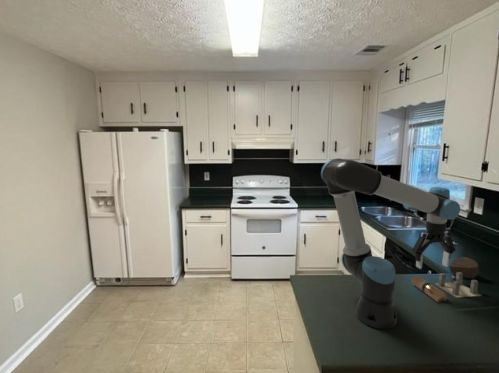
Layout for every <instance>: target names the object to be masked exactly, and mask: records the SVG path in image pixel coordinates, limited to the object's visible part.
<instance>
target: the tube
mask: <svg viewBox="0 0 499 373" xmlns="http://www.w3.org/2000/svg"><path fill="white" fill-rule="evenodd" d="M410 281H411V285H413V286H414V287H416V288H418V289H419V290H420V291H421V292H423V293H424V294H426V295H427V296H428V297H430V298H431V299H433V300H434V301H435V302H437V303H439V304H441V303H440V302H446V301H447V300H448V295H447V293H445V292H444V291H442V290H441V289H439V288H438V287H436V286H434V285H433V284H432V283H430V282H428V281H427V280H425V279H424V278H422V277H421V276H419V275H413V277H412V278H411V280H410Z"/></svg>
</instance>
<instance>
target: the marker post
mask: <svg viewBox="0 0 499 373" xmlns="http://www.w3.org/2000/svg"><path fill="white" fill-rule="evenodd" d="M453 281H456V276H455V275H451V276H450V279H449V282H450V283H452V284H453Z"/></svg>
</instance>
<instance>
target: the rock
mask: <svg viewBox="0 0 499 373" xmlns="http://www.w3.org/2000/svg"><path fill="white" fill-rule="evenodd" d="M448 267H449V271H450V272H451V274H452V276H454V277H456V273H457V272H461V273H463V278H462V279H471V280H474V279H475V278H476V277H477V276H478V274H480V266H479V264H478V262H476V260H474V259H472V258H469V257H466V256H460V257H457V258H455V259H453V260H452V261H451V263H450V264H449V266H448Z"/></svg>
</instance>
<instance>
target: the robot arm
mask: <svg viewBox="0 0 499 373" xmlns="http://www.w3.org/2000/svg"><path fill="white" fill-rule="evenodd" d="M320 177H321V179H322V181H323V182H324V183H325V184H326V185H327V186H326V187H327V190H328V194H329V195H331V196H332V197H333V200H334V204H335V207H336V212H337V215H338V220H339V225H340V229H341V233H342V238H343V242H344V247H343V248H342V255H341V263H342V266H343V268H344V269H345V271H347V272H348V274H350V275H351V276H353V277H354V278H355V279H356V280H357V281H358V282H359V283H360V284H361V287H360V290H361V292H360V294H361V295H360V297H359V300H358V302H357V304H356V306H355V316H356V318H357V319H358V320H359V321H360V322H362V323H363V324H365V326H368V325H369V327H371V328H375V329H379V330H389V329H392V328H394V327H396V325H397V323H398V316H397V315H398V314H397V311H396V308H395V306H394V295H395V284H396V278H397V277H396V268H395V266H394V264H393V263H391V262H390V260H388V259H386V258H382V257H380V256H376V255H375V256H374V255H373V253H372V252H373V251H372V249H371V245H369V244H368V243H366V239H365V238H366V237H365V234H364V233H365V232H364V229H363V225H362V221H361V216H360V212H359V208H358V202H357V198H356V194H355V192H357V193H362V194H365V195H368V196H372V195H376V196H379V197H382V198H384V199H388V200H391V201H392V202H393V201H394V202H396V203H399V204H402V206H403V208H404V209H406V210H407V211H420V212H423V213H426V224H425V229H426V232H422V231H420V232H419V235H418V238H417V240H416V242H415V243H414V245H413V247H412V250H411V252H412V253H414V254H415V257H414V258H415V267H416V268H418V269H419V270H423V269H422V268H423V259H424V255H423V253H424V251H426V249H427V248H428V247H429V246H430V245H432V244H434V243H439V244H440V245H441V247H442V248H443V249H444V251H442V261H441V262H442V263H441V265H442V266H444V267H446V268H448V267H449V266H450V264H449V263H450V260H451V256H452V255H453V254H454V252H456V247H455V244H454V241H453V239H452V232H450V231H447V222H448V220H455V219H456V218H458V216H459V215H460V212H461V206H460V204H459V203H458V202H457V200H453V199H452V198H450V197H451V196H450V194H451V190H450V189H449V188H446V187H440V186H439V187H438V186H435V187H434V186H433V187H430V189H429V190H428V191H426V190H424V189H420V188H418V187H415V186H413V185H410V184H407V183H404V182H401V181H399V180H396V179H394V178H391V177H388V176H385V175H383V174H382V172H381V171H379V170H377V169H374V168H372V167H370V166H368V165H365V164H363V163H361V162H359V161H357V160H354V159H343V158H331V159H330V160H327V161H326V162H325V163H324V164H323V166H322V167H321V171H320ZM451 254H452V255H451Z"/></svg>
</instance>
